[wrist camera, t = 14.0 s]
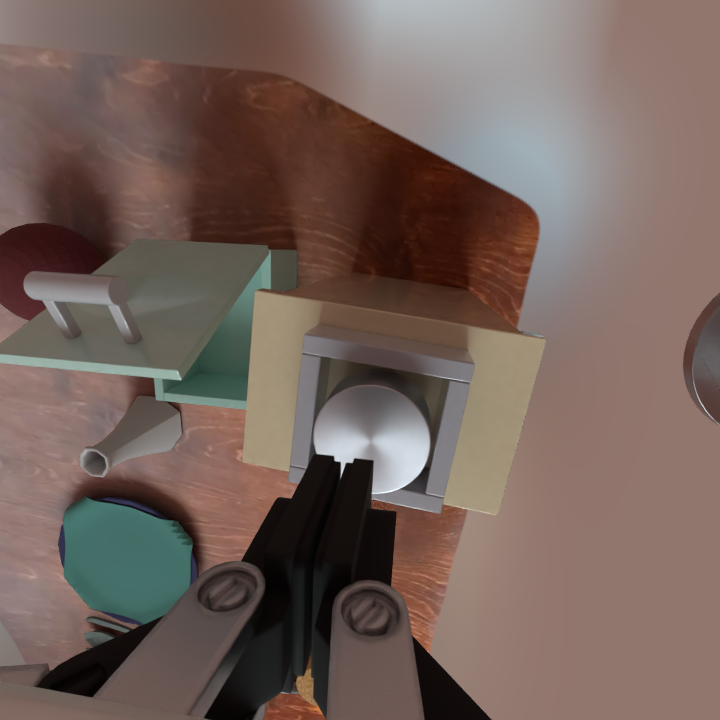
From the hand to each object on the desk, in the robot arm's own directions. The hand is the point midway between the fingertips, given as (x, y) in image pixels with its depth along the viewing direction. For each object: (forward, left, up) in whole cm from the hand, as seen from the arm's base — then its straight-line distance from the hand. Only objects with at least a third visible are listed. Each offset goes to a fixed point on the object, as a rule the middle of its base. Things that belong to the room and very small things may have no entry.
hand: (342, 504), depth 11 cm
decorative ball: (+27, -23, -33) cm, 48 cm away
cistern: (0, 0, -33) cm, 33 cm away
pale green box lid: (+12, -12, -17) cm, 24 cm away
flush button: (0, 0, -6) cm, 6 cm away
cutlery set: (+51, +12, -33) cm, 62 cm away
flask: (+32, -5, -33) cm, 46 cm away
